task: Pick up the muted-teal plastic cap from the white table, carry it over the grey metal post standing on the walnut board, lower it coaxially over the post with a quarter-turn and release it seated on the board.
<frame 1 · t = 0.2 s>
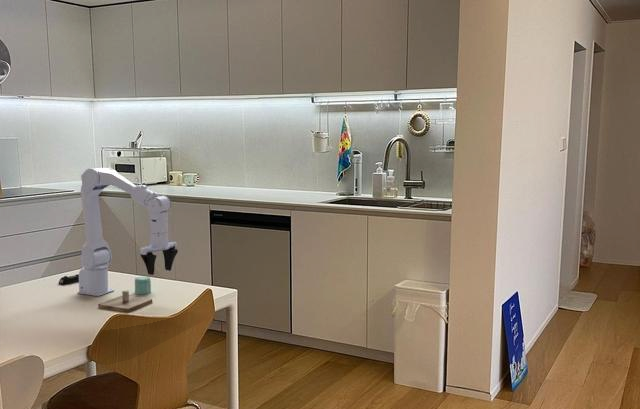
hand: (159, 272, 202), 10 cm above the table, fingers open, 7 cm apart
post board: (125, 305, 198), on the table
electric trimmer: (79, 282, 228), on the table
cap: (142, 292, 214), on the table
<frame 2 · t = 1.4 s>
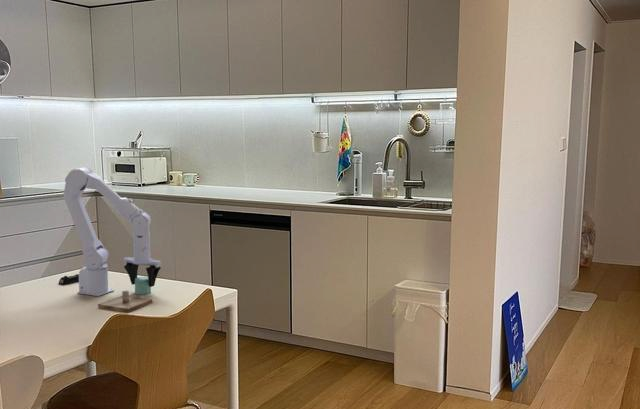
hand: (142, 285, 213), 3 cm above the table, fingers open, 7 cm apart
nothing on the table moved.
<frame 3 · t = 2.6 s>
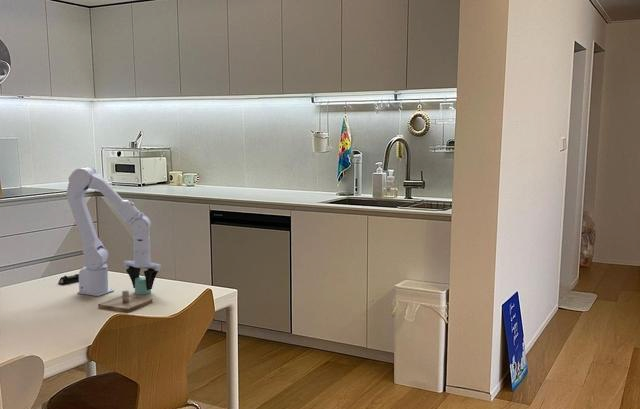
hand: (142, 288, 213), 1 cm above the table, fingers closed on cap, 5 cm apart
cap: (142, 292, 214), on the table, touching gripper
everything else where it was.
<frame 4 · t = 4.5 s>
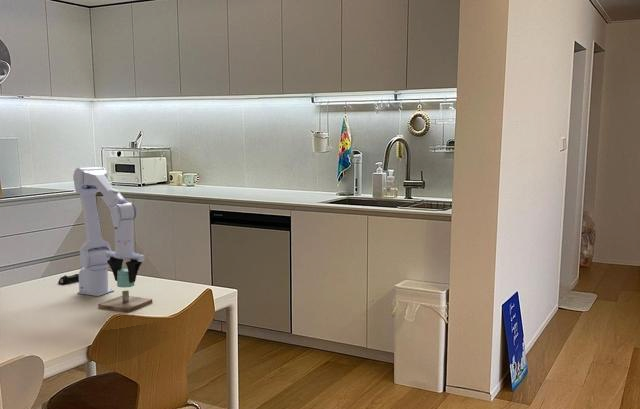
hand: (125, 281, 197), 8 cm above the table, fingers closed on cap, 5 cm apart
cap: (125, 285, 197), point 7 cm above the table, touching gripper
everything else where it was.
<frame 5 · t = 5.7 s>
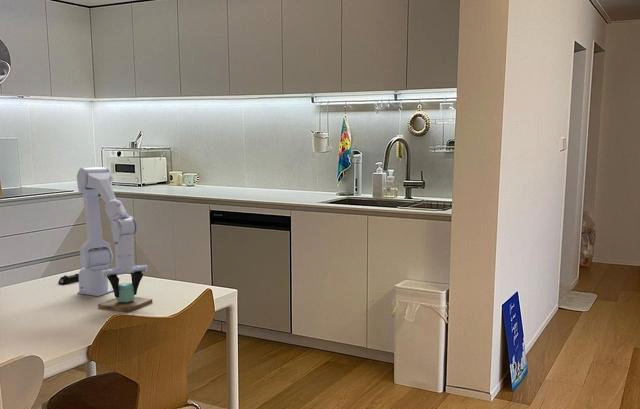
hand: (125, 295, 197), 3 cm above the table, fingers closed on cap, 5 cm apart
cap: (125, 299, 198), point 2 cm above the table, touching gripper
everything else where it was.
when the fingers open (3 cm above the table, at t = 6.9 s): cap stays where it is, resting on post board.
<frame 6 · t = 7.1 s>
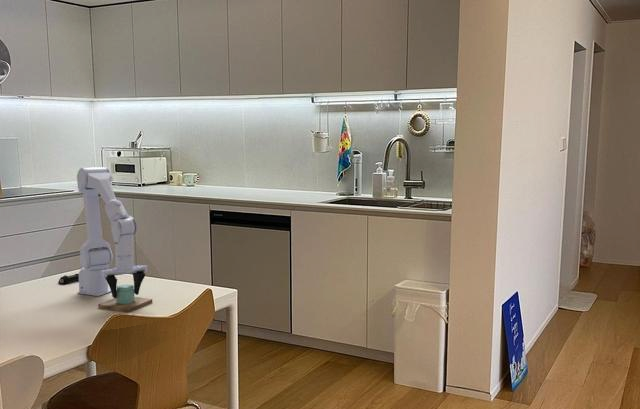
hand: (125, 295, 197), 3 cm above the table, fingers open, 7 cm apart
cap: (125, 301, 198), point 1 cm above the table, touching post board
everything else where it was.
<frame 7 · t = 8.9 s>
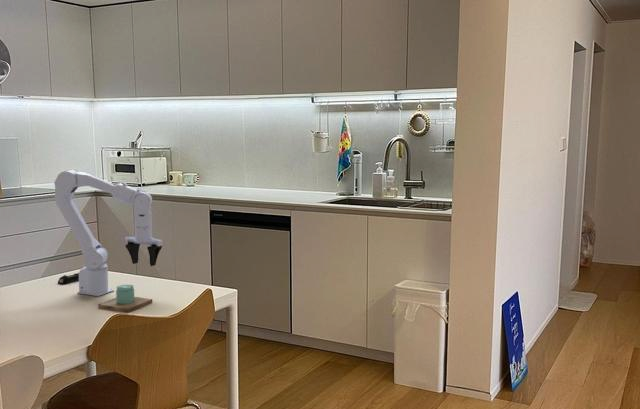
hand: (144, 264, 213), 10 cm above the table, fingers open, 7 cm apart
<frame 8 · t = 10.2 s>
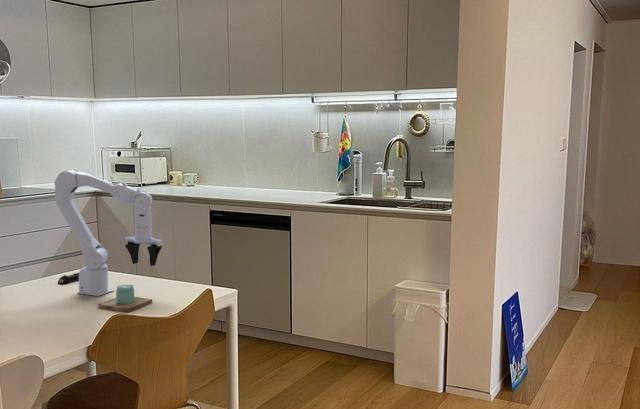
hand: (144, 264, 213), 10 cm above the table, fingers open, 7 cm apart
at the end: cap 0.2 cm off-centre on the post board, point 1.2 cm above the post board's base; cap tilted 0°; the gripper is holding nothing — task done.
